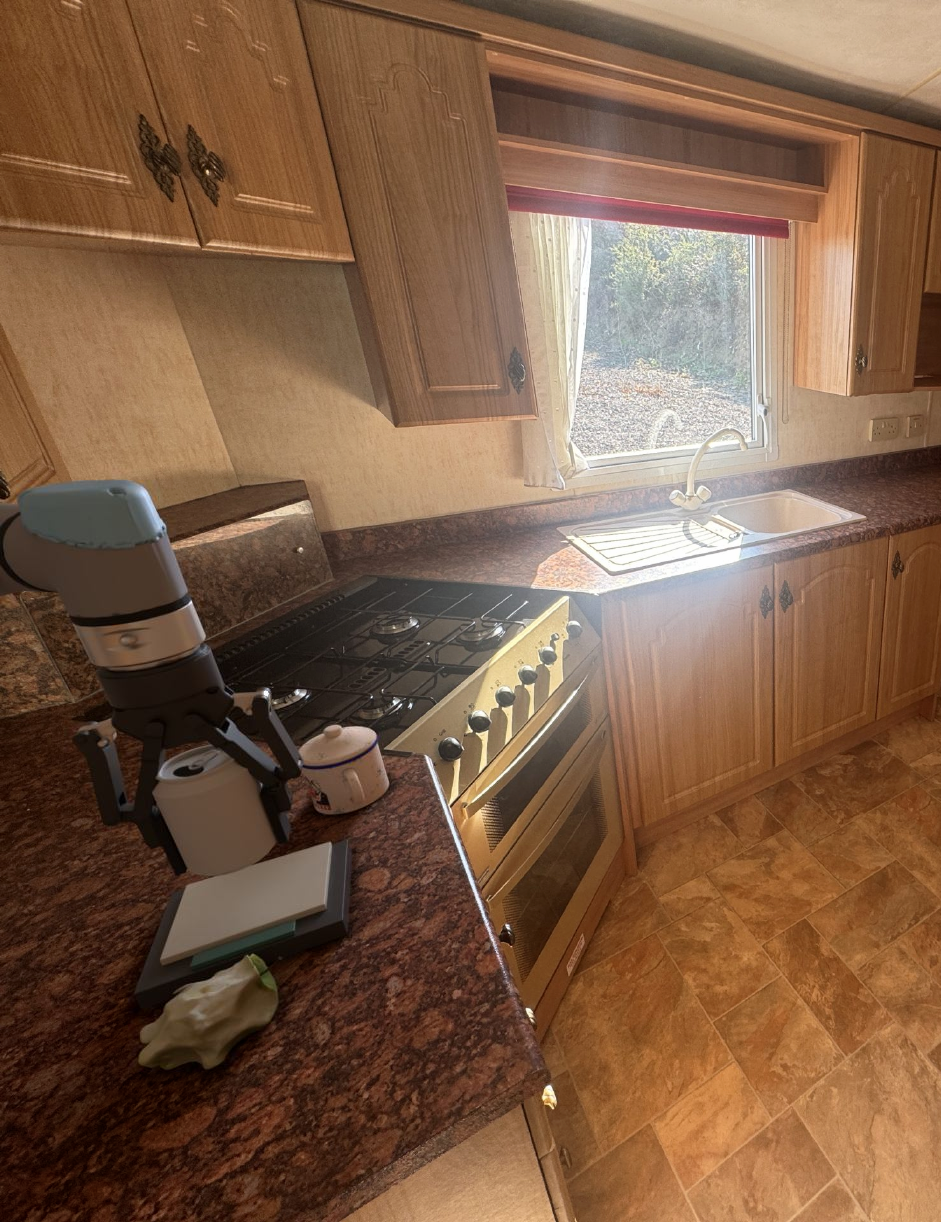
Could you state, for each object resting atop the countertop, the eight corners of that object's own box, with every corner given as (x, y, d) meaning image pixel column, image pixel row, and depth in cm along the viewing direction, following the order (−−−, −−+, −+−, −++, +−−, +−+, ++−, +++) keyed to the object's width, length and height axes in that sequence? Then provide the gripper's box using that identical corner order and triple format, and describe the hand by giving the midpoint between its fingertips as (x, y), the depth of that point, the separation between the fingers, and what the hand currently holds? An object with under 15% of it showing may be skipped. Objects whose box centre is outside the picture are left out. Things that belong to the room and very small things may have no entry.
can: (170, 874, 64) (122, 776, 60) (247, 824, 71) (210, 733, 67) (227, 888, 63) (183, 789, 58) (300, 836, 69) (266, 743, 65)
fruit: (306, 987, 65) (296, 934, 61) (248, 1090, 56) (233, 1035, 53) (197, 988, 62) (181, 934, 59) (121, 1095, 54) (97, 1039, 51)
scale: (145, 1016, 60) (129, 988, 59) (181, 913, 71) (168, 887, 70) (350, 940, 68) (340, 914, 67) (354, 858, 79) (346, 834, 78)
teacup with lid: (308, 798, 89) (283, 727, 85) (383, 770, 95) (363, 703, 91) (325, 842, 82) (299, 766, 77) (406, 809, 88) (385, 737, 83)
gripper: (-37, 701, 50) (86, 917, 59) (288, 644, 60) (352, 836, 69) (7, 663, 56) (112, 865, 65) (296, 618, 66) (354, 797, 75)
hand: (236, 850), depth 67 cm, fingers closed on can, 7 cm apart
